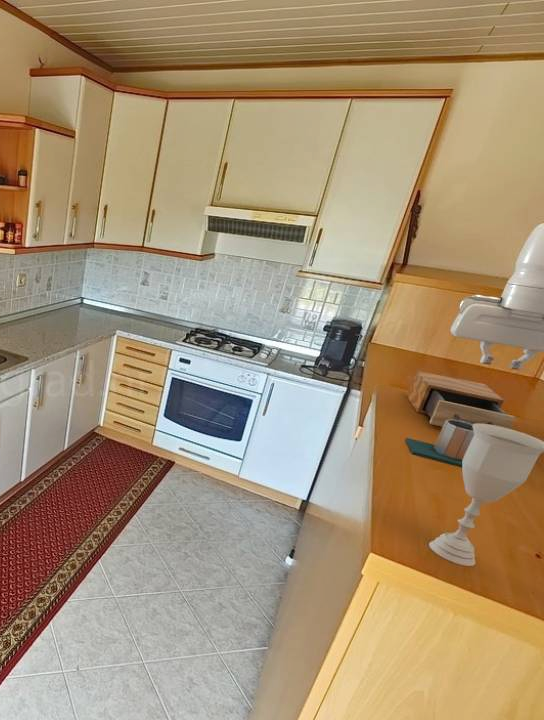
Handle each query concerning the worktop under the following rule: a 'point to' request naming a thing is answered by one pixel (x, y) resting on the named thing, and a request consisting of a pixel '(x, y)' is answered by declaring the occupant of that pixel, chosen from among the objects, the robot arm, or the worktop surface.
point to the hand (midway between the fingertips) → (499, 366)
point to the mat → (429, 452)
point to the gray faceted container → (454, 439)
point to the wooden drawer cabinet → (447, 389)
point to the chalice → (488, 481)
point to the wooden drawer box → (464, 409)
